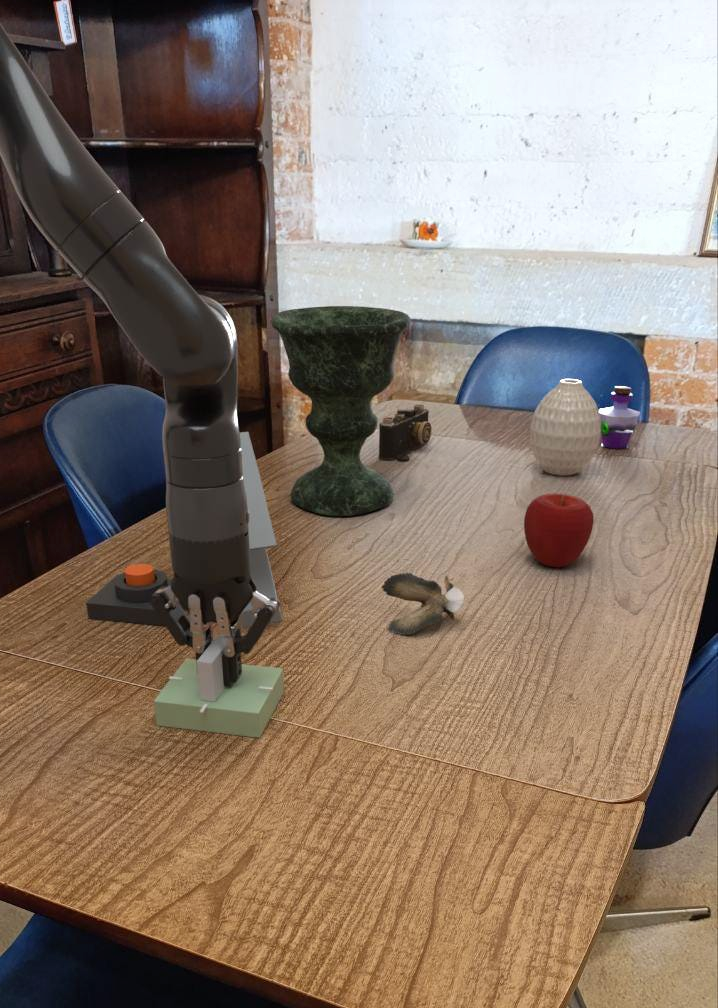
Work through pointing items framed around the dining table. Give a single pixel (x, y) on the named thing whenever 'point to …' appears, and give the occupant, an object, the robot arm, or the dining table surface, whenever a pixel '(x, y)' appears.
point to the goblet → (341, 398)
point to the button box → (127, 601)
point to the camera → (404, 433)
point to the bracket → (257, 531)
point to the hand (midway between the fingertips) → (220, 681)
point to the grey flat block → (211, 671)
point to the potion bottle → (618, 420)
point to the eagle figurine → (422, 601)
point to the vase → (565, 429)
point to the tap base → (221, 701)
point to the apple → (557, 528)
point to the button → (139, 575)
